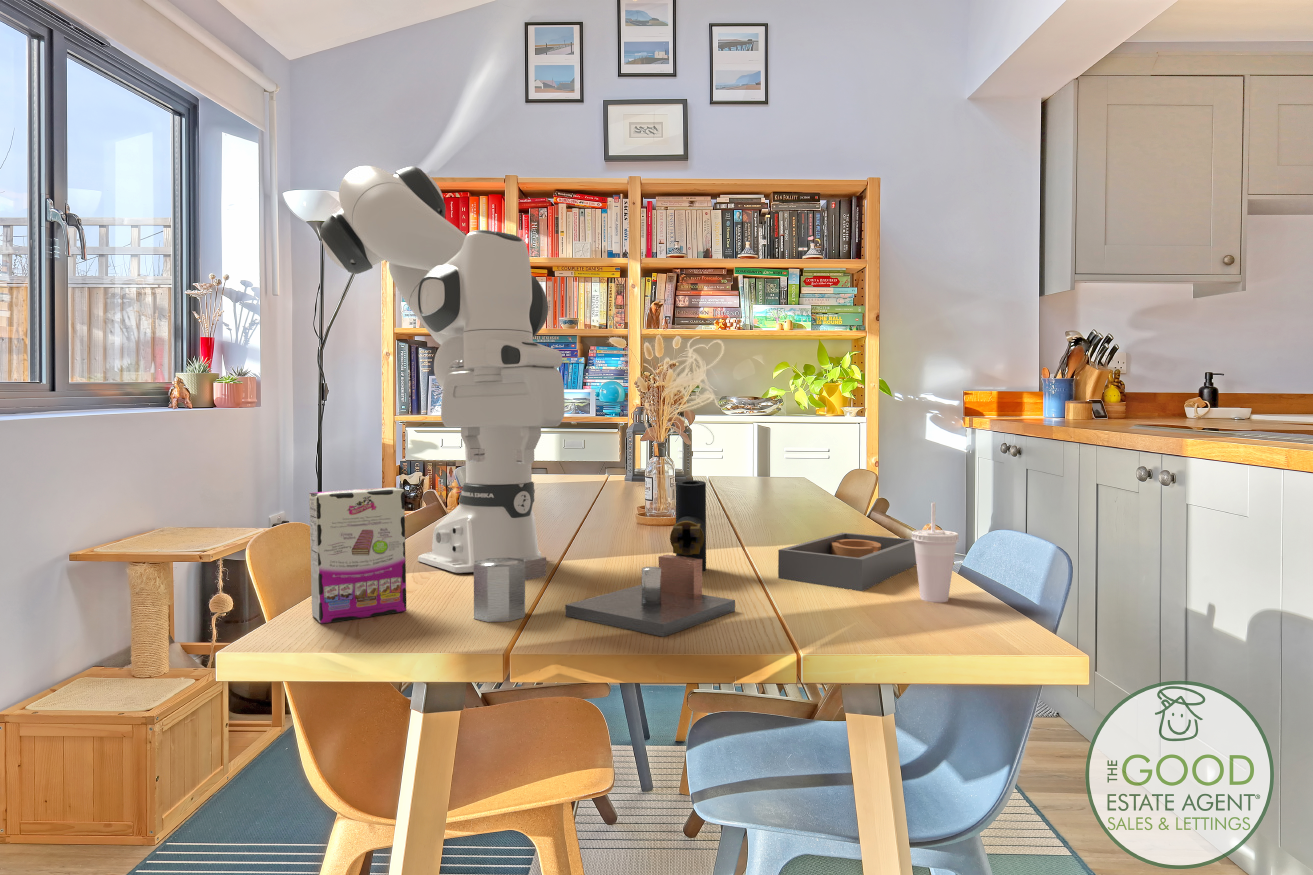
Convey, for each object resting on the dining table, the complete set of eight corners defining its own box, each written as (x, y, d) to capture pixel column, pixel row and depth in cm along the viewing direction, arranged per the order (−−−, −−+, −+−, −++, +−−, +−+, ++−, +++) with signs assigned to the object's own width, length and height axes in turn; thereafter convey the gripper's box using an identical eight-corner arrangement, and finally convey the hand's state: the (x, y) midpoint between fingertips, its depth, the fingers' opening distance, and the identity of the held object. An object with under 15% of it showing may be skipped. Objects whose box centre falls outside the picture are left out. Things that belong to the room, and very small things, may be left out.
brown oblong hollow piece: (889, 583, 139) (889, 543, 139) (865, 591, 133) (865, 550, 133) (800, 567, 151) (801, 531, 151) (775, 574, 145) (775, 537, 145)
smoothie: (902, 600, 114) (903, 502, 114) (923, 593, 119) (924, 499, 119) (945, 607, 110) (946, 505, 110) (965, 600, 114) (967, 502, 114)
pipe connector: (703, 588, 125) (702, 493, 123) (669, 587, 125) (668, 492, 123) (707, 567, 136) (707, 480, 134) (676, 566, 137) (676, 480, 135)
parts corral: (778, 580, 127) (778, 549, 127) (842, 559, 147) (842, 532, 146) (861, 592, 119) (862, 559, 119) (918, 568, 138) (918, 539, 138)
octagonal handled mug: (464, 616, 104) (464, 562, 104) (523, 601, 113) (523, 552, 113) (497, 624, 101) (497, 568, 100) (556, 608, 109) (556, 557, 109)
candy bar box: (395, 604, 111) (394, 486, 110) (407, 612, 107) (406, 489, 106) (309, 616, 104) (307, 490, 104) (318, 624, 100) (317, 493, 100)
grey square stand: (565, 616, 105) (565, 566, 105) (641, 594, 117) (641, 550, 117) (663, 636, 95) (663, 582, 95) (735, 610, 108) (735, 562, 108)
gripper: (428, 359, 108) (430, 462, 108) (535, 349, 95) (536, 465, 96) (466, 361, 113) (467, 460, 113) (571, 352, 100) (573, 463, 101)
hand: (500, 462), depth 104 cm, fingers open, 8 cm apart
